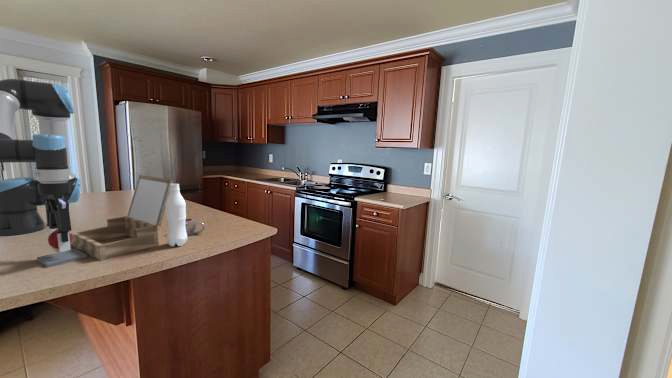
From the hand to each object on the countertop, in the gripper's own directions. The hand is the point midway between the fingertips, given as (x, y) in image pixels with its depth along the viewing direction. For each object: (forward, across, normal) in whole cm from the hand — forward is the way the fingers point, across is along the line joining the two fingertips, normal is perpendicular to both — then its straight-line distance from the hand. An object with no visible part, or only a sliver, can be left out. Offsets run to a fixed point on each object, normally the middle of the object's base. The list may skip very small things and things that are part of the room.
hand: (61, 248), depth 95 cm
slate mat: (+4, 0, 0) cm, 4 cm away
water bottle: (+4, +17, +30) cm, 35 cm away
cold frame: (+4, -1, +16) cm, 16 cm away
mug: (+4, +8, +41) cm, 42 cm away
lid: (-13, -1, +29) cm, 32 cm away
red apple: (+1, 0, 0) cm, 1 cm away
